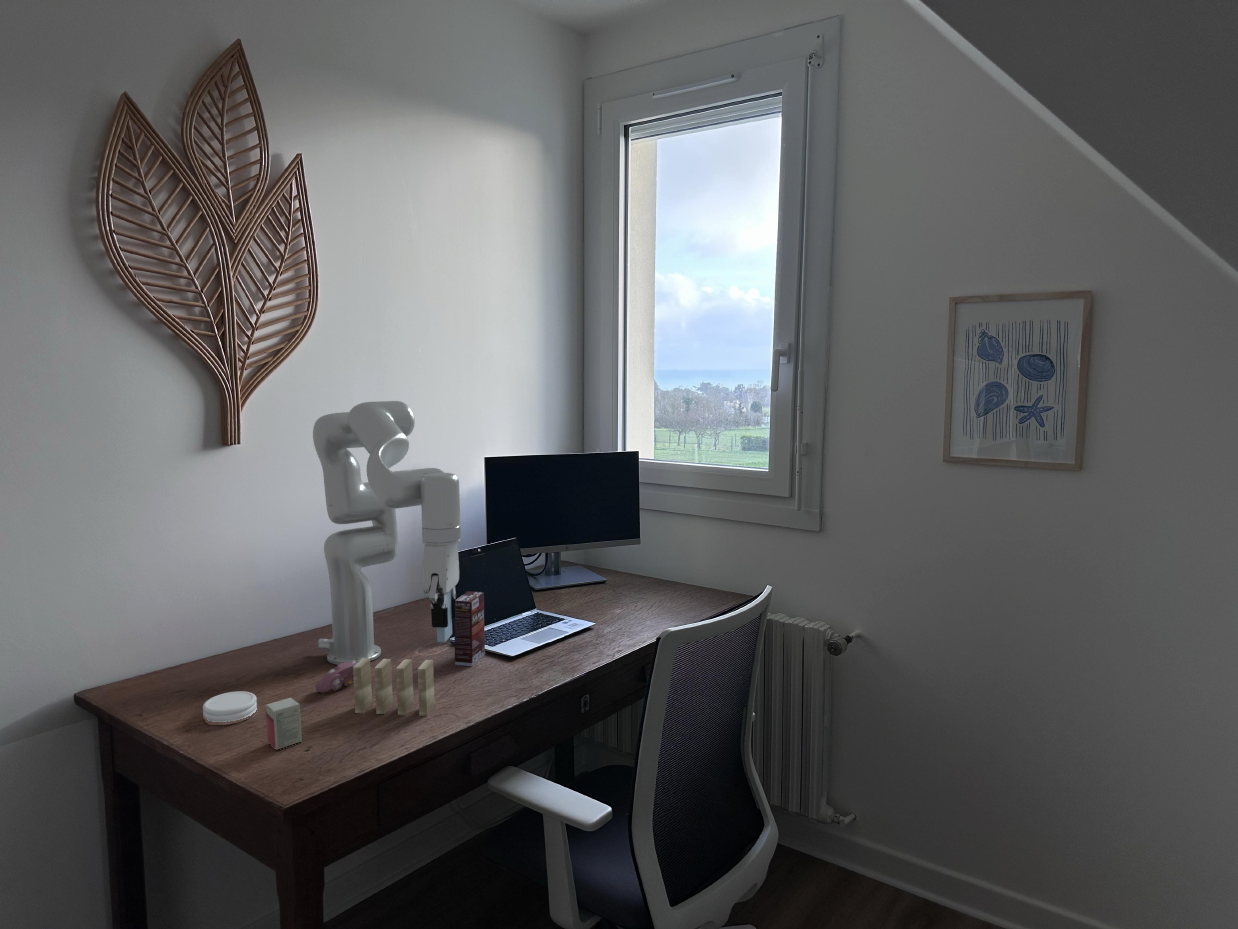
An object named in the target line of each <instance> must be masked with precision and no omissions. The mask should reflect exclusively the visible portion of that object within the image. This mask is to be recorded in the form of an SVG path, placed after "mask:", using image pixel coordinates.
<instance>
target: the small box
mask: <svg viewBox="0 0 1238 929" xmlns="http://www.w3.org/2000/svg"><path fill="white" fill-rule="evenodd" d="M300 705H301V704H300V703H299V702H298V701H297V700H295V699H294V698H293V697H288V698H283V699H281V700H278V701H274V702H270V703H267V704H265V705H264V706H265V707H264V708H265V718H266V719H265V720H266V735H267V743H268V742H269V743H270V744H271V745H272V746H273V747H274V748H281V747H285V746H288V745H290V744H293V743H297V742H301V741H302V742H303V740H302V736H303V735H302V723H301V722H302V721H301V707H300ZM302 742H301V743H302Z"/></svg>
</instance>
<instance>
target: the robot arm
mask: <svg viewBox="0 0 1238 929" xmlns="http://www.w3.org/2000/svg"><path fill="white" fill-rule="evenodd" d="M414 428H415V416H414V413H413V410H412V409H411V407H410V406H409V405H408V404H406V403H405V402H403V401H399V400H386V401H385V400H384V401H381V400H380V401H367V402H365V401H364V402H361V403H358V404H356V405H354V406H353V407H352V408H351V409H350V410H349V411H345V412H344V411H343V412H342V411H340V412H334V413H333V412H332V413H328V414H325V415H322V416H320V417H318V418H317V419H316V421H315V422H314V425H313V428H312V439H313V445H314V449H315V451H316V454H317V456H318V459H319V462H320V465H321V468H322V473H323V485H324V495H325V504H326V506H325V507H326V512H327V516H328V518H329V520H330V521H331V522H332V523H333V524H335V525H349V524H357V523H365V522H371V523H372V525H370V526H365V527H356V528H350V529H342V530H340V531H339V530H338V531H336V532H334V533H332V534H330V535H329V536H327V537H326V539H325V541H324V545H323V553H324V558H325V562H326V565H327V566H326V567H327V571H328V576H329V577H328V579H329V590H330V606H331V607H330V608H331V626H332V627H331V629H332V638H331V639H330V638H329V639H328V638H319V639H318V642H317V645H318V649H319V650H328V653H327V655H326V659H327V662H329V664H332V665H335V666H338V665H339V664H342V663H347V662H349V663H351V662H352V661H355V662H357V663H358V662H359V661H360V660H361V659H362V658H370V662H372V661H374V660H376V659H378V658H379V657H380V656H381V654H382V648H381V647H380V646H378V645H377V644H375V637H374V636H375V635H374V634H375V633H374V612H373V611H374V610H373V609H374V608H373V606H374V605H373V591H372V590H373V589H372V584H371V581H370V579H369V578H368V577H367V576H366V575H365V574H364V573H363V571H362V569H363V568H366V567H371V566H376V565H380V564H385V563H389V562H392V561H394V560H395V559H396V557H397V556H398V553H399V534H398V524H397V523H398V521H397V512H396V510H397V509H404V508H409V507H416V506H420V508H421V531H422V532H421V536H422V537H421V538H422V544H423V545H424V549H423V557H422V558H423V560H422V563H423V564H422V592H423V593H424V594H425V595H426V594H428V599H429V602H430V610H431V614H430V615H431V616H430V617H431V627H432V628H437V627H441V628H446V627H447V626H448V607H446V593H448V592H449V591H450V590H451V612H452V620H454V618H456V597H457V593H456V585H457V584H459V583H458V582H459V581H460V561H459V560H460V559H459V558H460V557H459V547H458V544H459V543H460V542H461V541H462V538H461V537H462V535H461V533H462V532H461V508H460V507H461V504H460V501H461V498H460V481H459V480H460V479H459V477H458V476H457V475H456V474H455V473H451V472H444V471H443V470H441V469H439V468H436V467H426V468H416V469H414V468H413V469H406V470H395V471H392V470H390V468H392V467H393V466H395V465H397V464H398V463H400V462H401V461H402V460H403V459H404V458H405V456H406V455H407V453H408V452H409V448H410V441H409V439H408V437H409V436H410V435H411V434H412V433H413V431H414ZM358 448H364V450H365V451H366V452H367V454H369V456H368V458H367V462H366V476H367V477H366V478H367V482H363V481H362V475H361V474H362V472H361V466H360V463H359V461H358V459H357V458H356V456H354V454H353V453H352V452H351V451H350V450H349V449H358ZM439 590H443V591H442V592H443V593H442V592H438V591H439ZM438 596H442V600H441V598H438Z"/></svg>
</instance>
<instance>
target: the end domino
mask: <svg viewBox="0 0 1238 929" xmlns="http://www.w3.org/2000/svg"><path fill="white" fill-rule="evenodd" d="M442 591H443V590H438V592H442ZM442 593H443V592H442ZM438 598H441V600H442V596H438ZM446 607H448V626H447V627H446V628H441V627H436V640H437V641H436V642H437V643H446V642H447V641H448V639H449V638H450V637H452V635H453V619H452V612H451V590H450V591H449V592H448V593H446Z"/></svg>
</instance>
